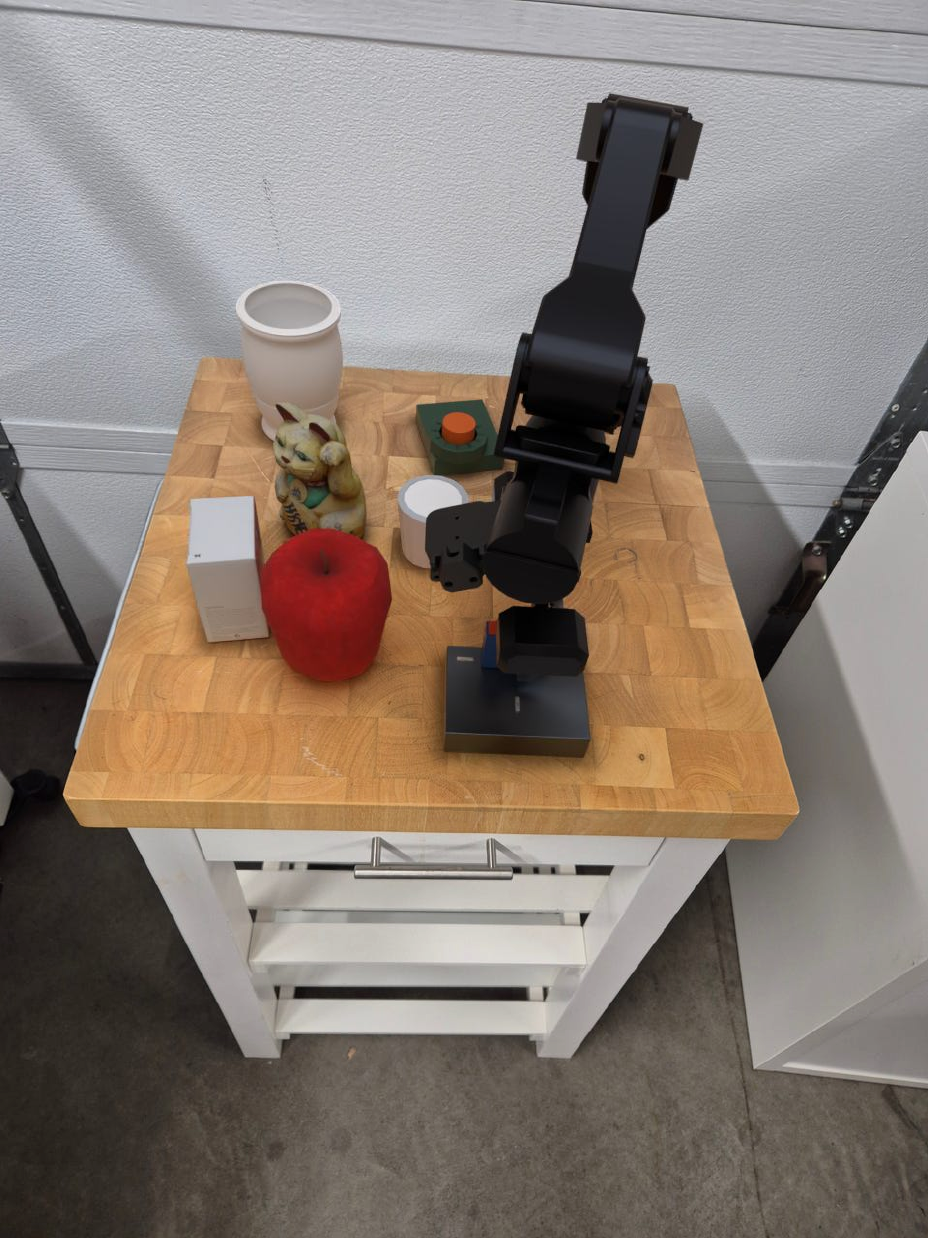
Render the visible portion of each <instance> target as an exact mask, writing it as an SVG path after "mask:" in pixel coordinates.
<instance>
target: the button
mask: <svg viewBox="0 0 928 1238" xmlns="http://www.w3.org/2000/svg"><path fill="white" fill-rule="evenodd" d="M475 425H476V423H475V420H474V419H473V418H472V417H471V416H470V415H468V414H465V413H461V412H454V413H450V414H448V415H446V416H445V417H444V418H443V422H442V437H443V439H444V440H445V441H447V442H448V443H451V444H455V445H463V444H469V443H470V442H472V440H473V439H474V434H475Z"/></svg>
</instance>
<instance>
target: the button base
mask: <svg viewBox="0 0 928 1238" xmlns="http://www.w3.org/2000/svg"><path fill="white" fill-rule="evenodd" d="M454 412H461V413H465V414H468V415H470V416H471V417H472V418H473V419H474V420H475V423H476V425H475V434H474V439H473V440H472V442H470V443H469V444H463V445H455V444H451V443H448V442H447V441H445V440H444V439H443V437H442V422H443V418H444V417H445V416H446V415H448V414H450V413H454ZM415 422H416V426H417V428H418V432H419V435H420V438H421V440H422V441H421V442H422V443H423V447H424V450H425V453H426V456H427V459H428V462H429V465H430V468H431V472H432V475H438V476H449V475H458V474H459V475H460V474H469V473H476V472H485V471H486V472H487V471H488V472H489V471H498V470H503V469H504V464H505V459H504V458H500V457H495V456H494V450H495V446H496V441H497V437H498V432H497V430H496V428H495V426H494V424H493V421H492V418H491V416H490V414H489V412H488V409H487V407H486V404H485V402H484V400H483V399H482V398H481V399H467V400H457V401H456V400H455V401H445V402H432V403H430V402H429V403H421V404H419V403H418V404H416V406H415Z"/></svg>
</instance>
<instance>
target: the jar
mask: <svg viewBox="0 0 928 1238" xmlns="http://www.w3.org/2000/svg"><path fill="white" fill-rule="evenodd" d="M341 311H342V306H341V303H340V301H339V300H338V298H337V297H336V295H334V294H333V293H332V292H331V291H329V290H328V289H326V288H324V287H323V286H322V287H321V286H320V285H317V284H313V283H310V282H305V281H299V280H274V281H269V282H264V283H260V284H256V285H255V286H253V287H250V288H248V289H246V290H245V291H244V292H243V293H242V294H241V295H240V296H239V297H238V299H237V301H236V304H235V312H236V313H235V314H236V318H237V320H238V322H239V324H240V325H241V337H240V339H241V340H240V341H241V342H240V345H241V347H240V348H241V356H242V364H243V369H244V373H245V376H246V379H247V382H248V384H249V387H250V390H251V394H252V397H253V401H254V403H255V405H256V407H257V409H258V411H259V413H260V415H262V418H261V429H262V431H263V433H264V434H265V435H266V437H268V439H269V440H272V441H273V442H274V441H275V436H276V433H277V431H278V429H279V427H280V426H281V424H282V423H283V422H284V420H283V418H282V416H281V415H280V413H279V412H278V410H277V408H276V404H278V403H281V402H284V403H291V404H294V405H297V406H298V407H300V408H301V409H302V410H303V411H304V412H305V413H307V414H313V415H319V416H322V417H325V418H327V419H329V420H331V421H332V422H334V423H335V424H336V425H337V418H336V417H335V411H336V409H337V407H338V403H339V399H340V391H341V386H342V385H341V384H342V378H343V369H344V355H343V354H344V353H343V344H342V338H341V334H340V330H339V326H338V325H339V323H340V321H341V316H342V313H341Z"/></svg>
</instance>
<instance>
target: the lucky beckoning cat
mask: <svg viewBox="0 0 928 1238" xmlns="http://www.w3.org/2000/svg"><path fill="white" fill-rule="evenodd" d="M276 408H277V410H278V412H279V413H280V415H281V416H282V418H283V420H284V422H283V423H282V424H281V426H280V427H279V429H278V431H277V433H276V436H275V441H273V442H272V447H273V454H274V460H275V462H276V464H277V465H278V467H280V468H279V469H278V471H277V474H276V477H275V480H274V491H275V496H276V499H277V501H278V502H279V503H280V504H281V507H280V509H279V511H278V516H279V517H280V518H281V520H282V521H284V522H285V524H286V526H287V528H288V530H289V531H290V532H291V533H292V534H293V535H294V536H295V535H298V534H300V533H303V532H305V531H308V530H310V529H313V528H318V529H335V530H339V531H342V532H345V533H348V534H352V535H354V536H355V537H357V538H359V539H362V537H363V535H364V533H365V529H366V523H367V501H366V494H365V490H364V486H363V483H362V480H361V477H360V476H359V474H357V472H356V471H355V469H354V468H353V466H352V464H353V463H352V458H351V453H350V451H349V448H348V446H347V439H346V437H345V433H344V432H343V431H342V429H341V428H340V427H339V425H337V423H336V424H335V423H334V422H332V421H331V420H329V419H327V418H325V417H322V416H319V415H313V414H307V413H305V412H304V411H303V410H302V409H301V408H300V407H298V406H297V405H294V404H291V403H284V402H281V403H278V404H276Z"/></svg>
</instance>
